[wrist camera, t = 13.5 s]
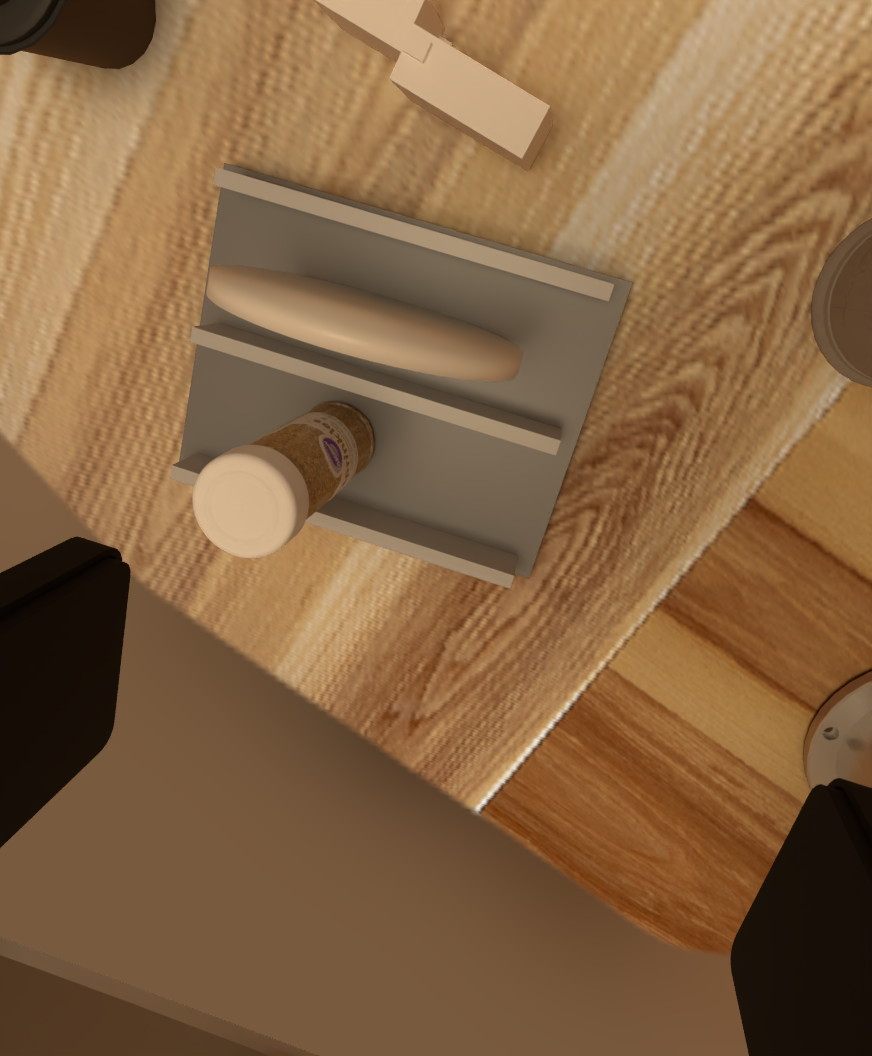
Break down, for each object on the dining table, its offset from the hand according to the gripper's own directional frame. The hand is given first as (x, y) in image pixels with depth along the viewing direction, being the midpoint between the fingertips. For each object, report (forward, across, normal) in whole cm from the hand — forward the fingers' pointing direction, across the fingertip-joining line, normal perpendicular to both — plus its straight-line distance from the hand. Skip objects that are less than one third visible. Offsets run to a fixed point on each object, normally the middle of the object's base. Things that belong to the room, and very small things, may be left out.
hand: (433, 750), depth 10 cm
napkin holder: (+34, +10, -14) cm, 38 cm away
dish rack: (+34, +9, +2) cm, 35 cm away
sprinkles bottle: (+32, +11, +5) cm, 35 cm away
